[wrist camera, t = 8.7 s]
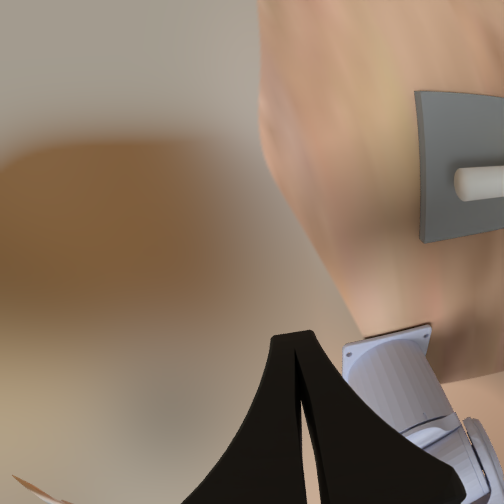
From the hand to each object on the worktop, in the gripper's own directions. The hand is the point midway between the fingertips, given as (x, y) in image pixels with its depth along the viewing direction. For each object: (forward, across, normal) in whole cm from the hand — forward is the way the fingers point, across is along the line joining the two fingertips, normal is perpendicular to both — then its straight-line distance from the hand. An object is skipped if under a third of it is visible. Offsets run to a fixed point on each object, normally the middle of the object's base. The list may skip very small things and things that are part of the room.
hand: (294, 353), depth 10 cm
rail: (+10, -18, -3) cm, 21 cm away
